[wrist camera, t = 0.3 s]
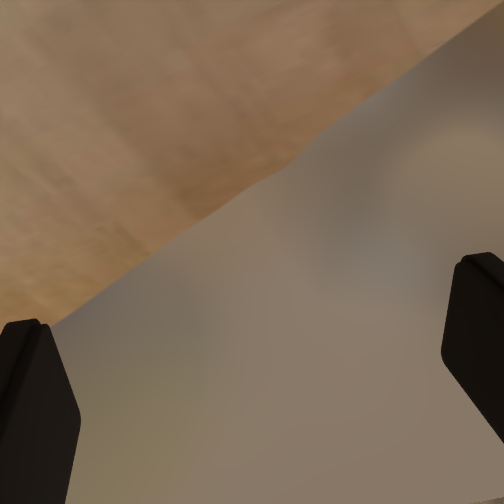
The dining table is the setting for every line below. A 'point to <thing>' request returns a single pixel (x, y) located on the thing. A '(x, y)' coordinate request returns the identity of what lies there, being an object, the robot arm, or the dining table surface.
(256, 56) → the dining table surface
